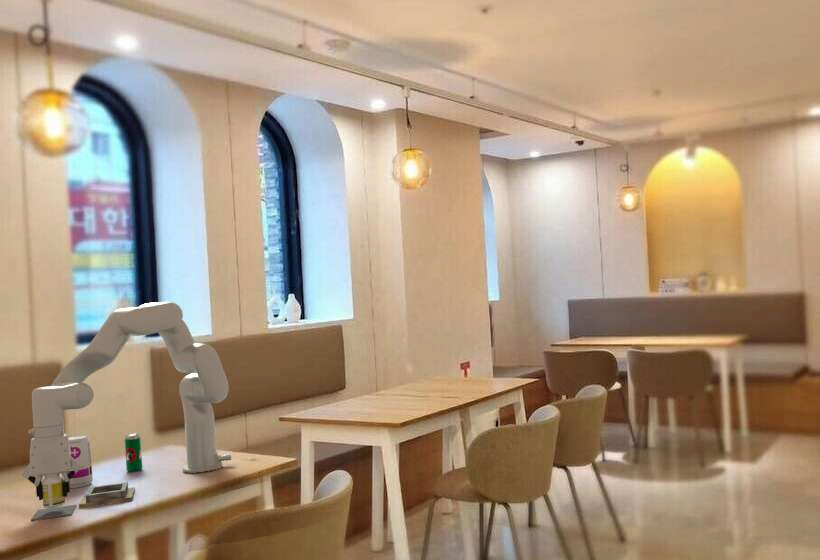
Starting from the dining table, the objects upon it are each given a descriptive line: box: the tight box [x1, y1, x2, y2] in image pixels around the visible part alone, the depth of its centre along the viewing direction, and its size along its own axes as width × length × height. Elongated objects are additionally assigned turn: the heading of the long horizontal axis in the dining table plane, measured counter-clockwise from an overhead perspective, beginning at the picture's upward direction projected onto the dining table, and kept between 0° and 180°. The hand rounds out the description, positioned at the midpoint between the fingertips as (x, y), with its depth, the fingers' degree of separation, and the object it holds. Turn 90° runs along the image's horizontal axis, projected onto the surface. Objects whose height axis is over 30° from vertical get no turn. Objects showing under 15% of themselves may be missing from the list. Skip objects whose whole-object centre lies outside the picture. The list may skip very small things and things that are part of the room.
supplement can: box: [68, 435, 93, 489], centre depth 239 cm, size 8×8×15 cm
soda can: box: [124, 433, 143, 473], centre depth 254 cm, size 5×5×12 cm
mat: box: [30, 504, 78, 522], centre depth 207 cm, size 10×10×1 cm
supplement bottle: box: [41, 473, 66, 509], centre depth 207 cm, size 5×5×10 cm
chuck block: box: [78, 481, 136, 509], centre depth 219 cm, size 14×12×3 cm
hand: (53, 496), depth 207 cm, fingers closed on supplement bottle, 5 cm apart
